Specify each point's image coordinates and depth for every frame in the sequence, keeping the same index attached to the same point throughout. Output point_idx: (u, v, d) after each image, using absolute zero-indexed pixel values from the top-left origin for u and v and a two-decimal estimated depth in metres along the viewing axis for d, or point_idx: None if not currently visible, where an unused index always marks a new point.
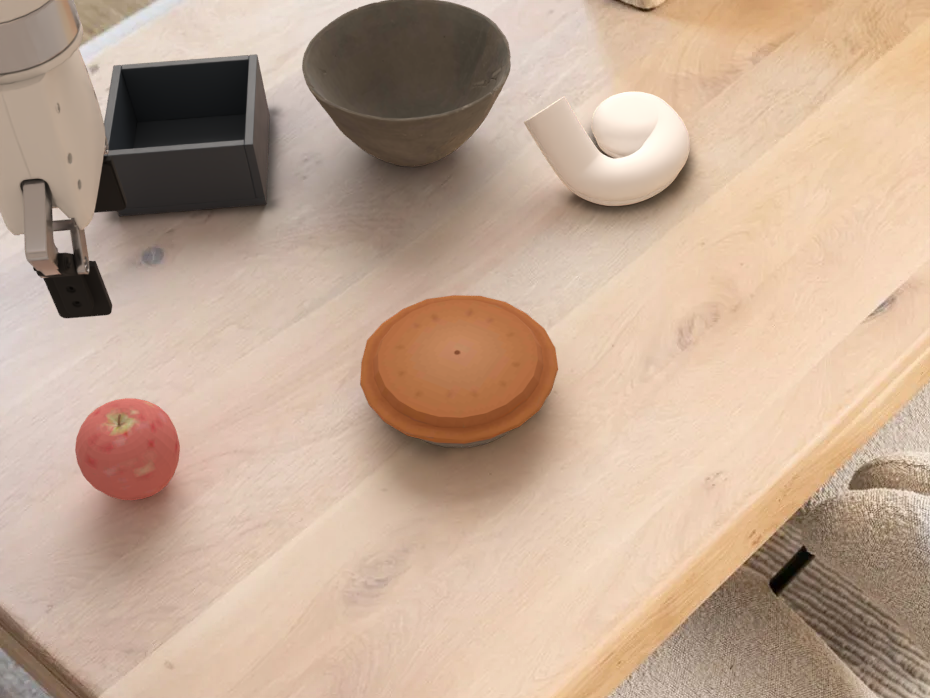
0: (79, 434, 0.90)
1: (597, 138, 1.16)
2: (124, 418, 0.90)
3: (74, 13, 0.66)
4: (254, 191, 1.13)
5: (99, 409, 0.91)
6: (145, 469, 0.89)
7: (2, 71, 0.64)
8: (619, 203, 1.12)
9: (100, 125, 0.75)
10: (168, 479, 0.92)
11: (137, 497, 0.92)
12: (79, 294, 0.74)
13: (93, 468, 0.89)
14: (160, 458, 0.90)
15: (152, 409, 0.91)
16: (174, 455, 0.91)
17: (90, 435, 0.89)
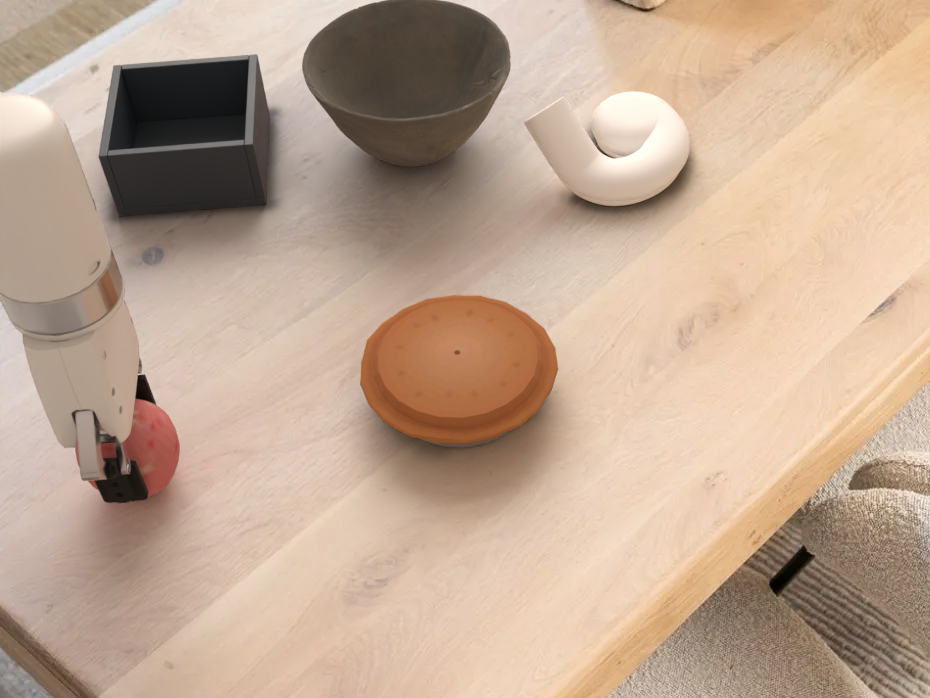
0: None
1: (597, 138, 1.16)
2: None
3: (118, 278, 0.79)
4: (254, 191, 1.13)
5: None
6: (145, 469, 0.89)
7: (59, 332, 0.77)
8: (619, 203, 1.12)
9: (136, 345, 0.88)
10: (168, 479, 0.92)
11: None
12: (121, 488, 0.88)
13: None
14: (160, 458, 0.90)
15: (152, 409, 0.91)
16: (174, 455, 0.91)
17: None
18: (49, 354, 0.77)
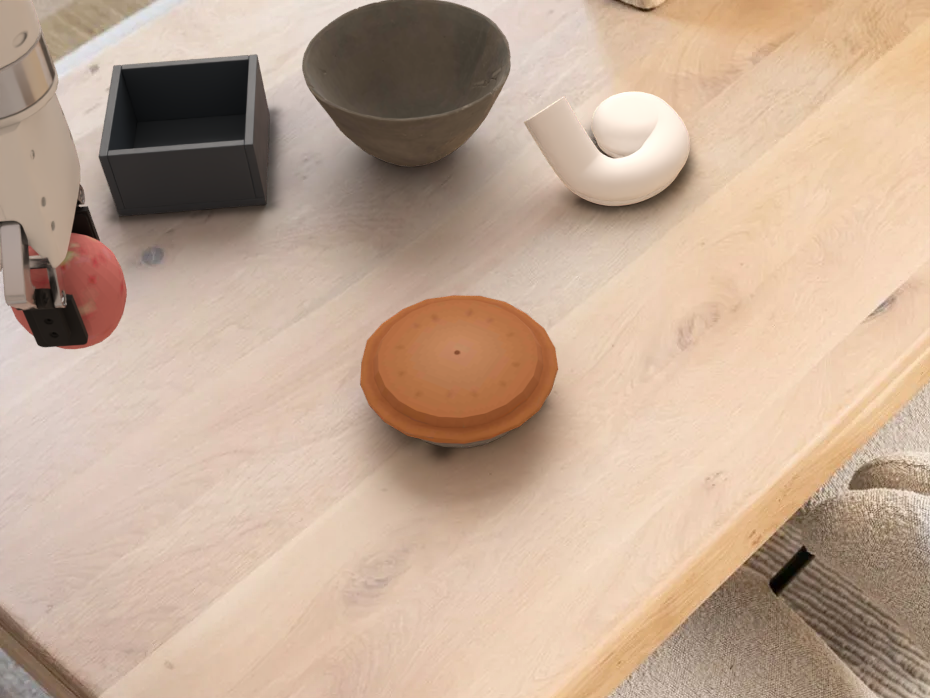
0: None
1: (597, 138, 1.16)
2: None
3: (49, 64, 0.68)
4: (254, 191, 1.13)
5: None
6: (85, 309, 0.79)
7: None
8: (619, 203, 1.12)
9: (75, 164, 0.77)
10: (112, 325, 0.81)
11: None
12: (56, 326, 0.77)
13: None
14: (103, 298, 0.79)
15: (95, 244, 0.80)
16: (119, 296, 0.81)
17: None
18: None
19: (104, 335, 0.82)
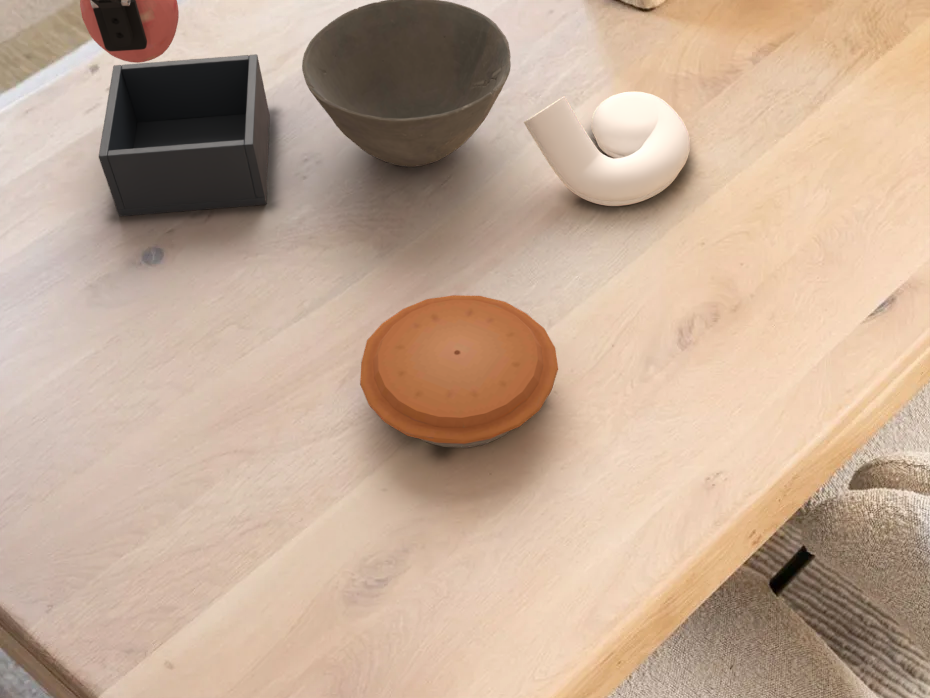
0: None
1: (597, 138, 1.16)
2: None
3: None
4: (254, 191, 1.13)
5: None
6: (145, 16, 0.95)
7: None
8: (619, 203, 1.12)
9: None
10: (167, 38, 0.98)
11: (137, 53, 0.97)
12: (121, 25, 0.93)
13: None
14: (159, 9, 0.96)
15: None
16: (173, 11, 0.97)
17: None
18: None
19: (160, 47, 0.98)
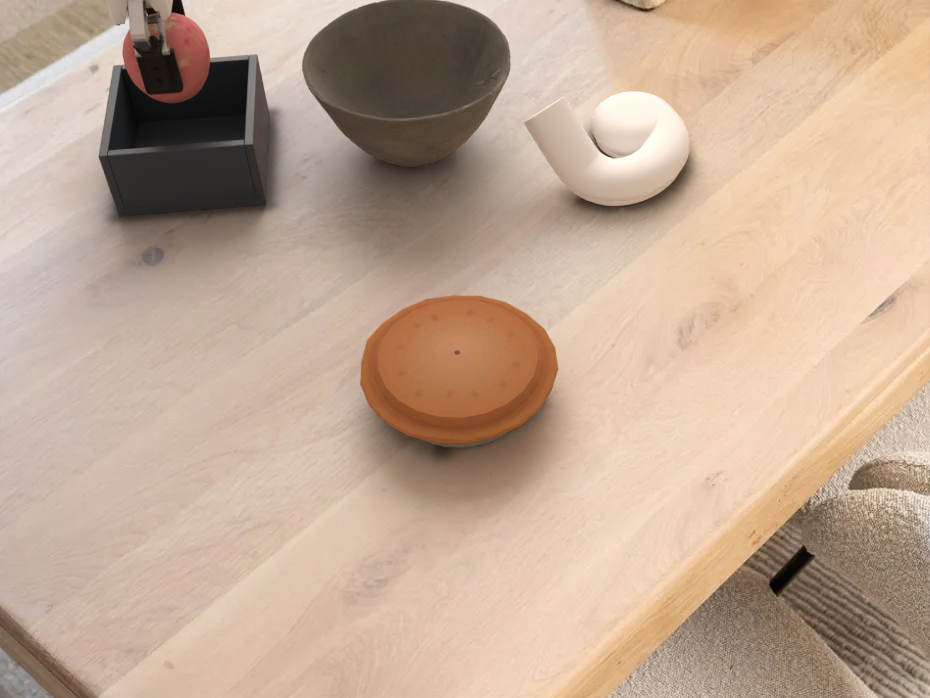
0: (126, 37, 1.07)
1: (597, 138, 1.16)
2: None
3: None
4: (254, 191, 1.13)
5: None
6: (182, 63, 1.06)
7: None
8: (619, 203, 1.12)
9: None
10: (200, 81, 1.09)
11: (174, 95, 1.08)
12: (162, 72, 1.04)
13: None
14: (194, 56, 1.07)
15: (187, 18, 1.08)
16: (206, 58, 1.08)
17: None
18: None
19: (194, 89, 1.09)
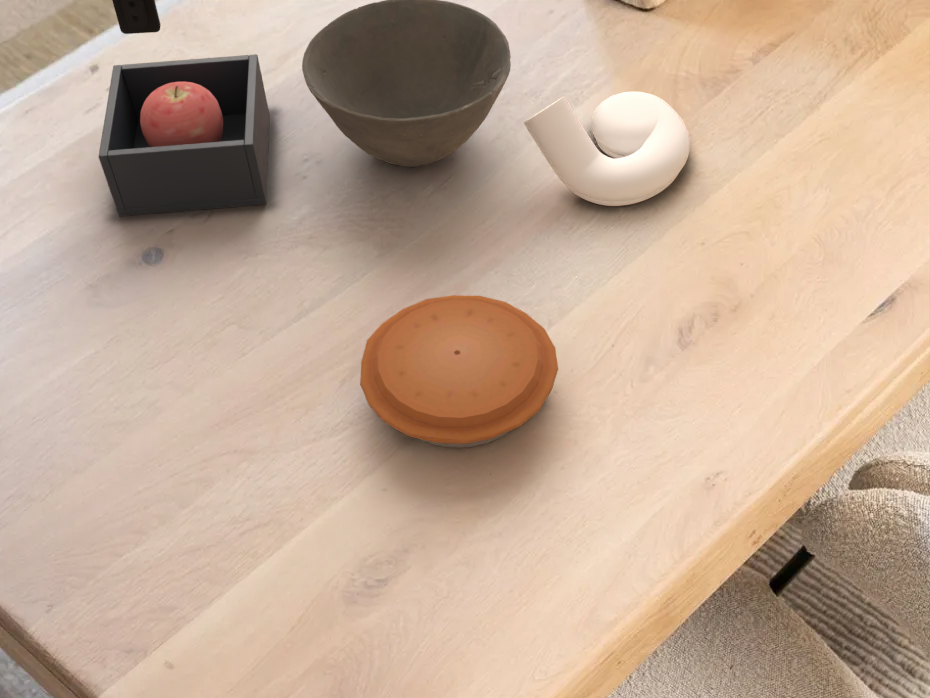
0: (143, 106, 1.13)
1: (597, 138, 1.16)
2: (179, 92, 1.12)
3: None
4: (254, 191, 1.13)
5: None
6: (198, 131, 1.12)
7: None
8: (619, 203, 1.12)
9: None
10: None
11: None
12: (137, 9, 0.99)
13: (155, 130, 1.11)
14: (209, 123, 1.12)
15: (201, 87, 1.13)
16: (220, 124, 1.13)
17: (153, 104, 1.11)
18: None
19: None
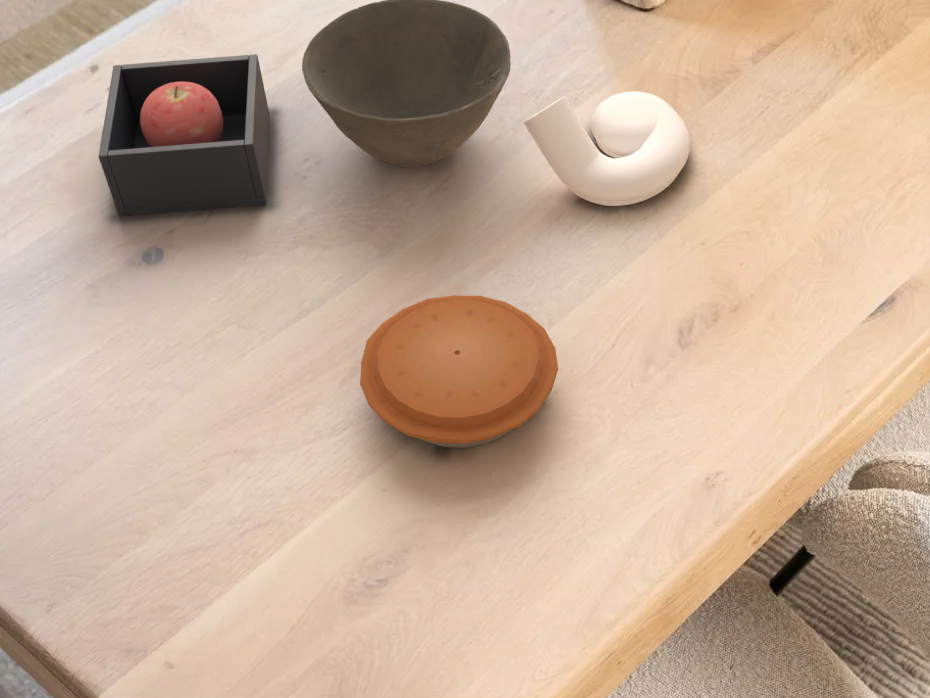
0: (143, 106, 1.13)
1: (597, 138, 1.16)
2: (179, 93, 1.12)
3: None
4: (254, 191, 1.13)
5: None
6: (198, 131, 1.12)
7: None
8: (619, 203, 1.12)
9: None
10: None
11: None
12: None
13: (155, 130, 1.11)
14: (209, 123, 1.12)
15: (201, 87, 1.13)
16: (220, 124, 1.13)
17: (153, 104, 1.11)
18: None
19: None
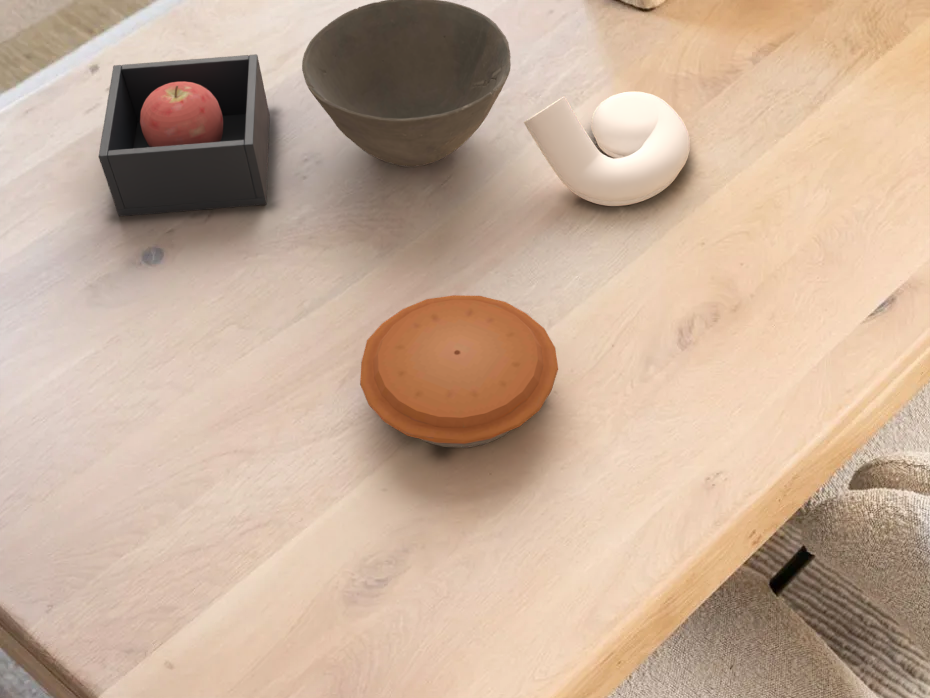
0: (143, 106, 1.13)
1: (597, 138, 1.16)
2: (179, 93, 1.12)
3: None
4: (254, 191, 1.13)
5: None
6: (198, 131, 1.12)
7: None
8: (619, 203, 1.12)
9: None
10: None
11: None
12: None
13: (155, 130, 1.11)
14: (209, 123, 1.12)
15: (201, 87, 1.13)
16: (220, 124, 1.13)
17: (153, 104, 1.11)
18: None
19: None
